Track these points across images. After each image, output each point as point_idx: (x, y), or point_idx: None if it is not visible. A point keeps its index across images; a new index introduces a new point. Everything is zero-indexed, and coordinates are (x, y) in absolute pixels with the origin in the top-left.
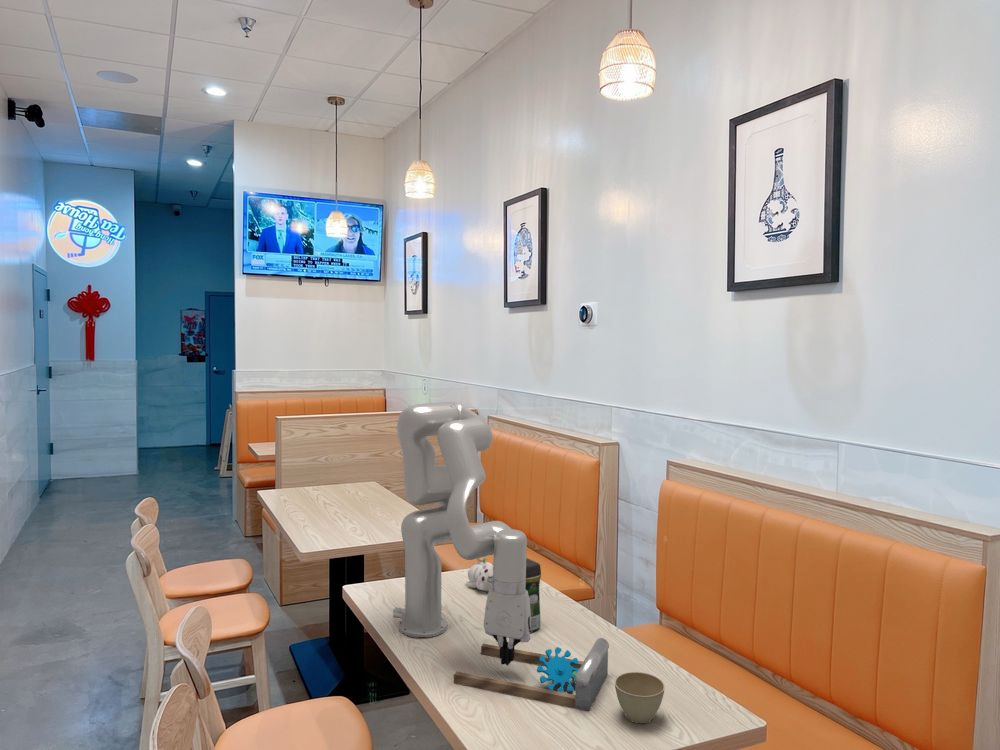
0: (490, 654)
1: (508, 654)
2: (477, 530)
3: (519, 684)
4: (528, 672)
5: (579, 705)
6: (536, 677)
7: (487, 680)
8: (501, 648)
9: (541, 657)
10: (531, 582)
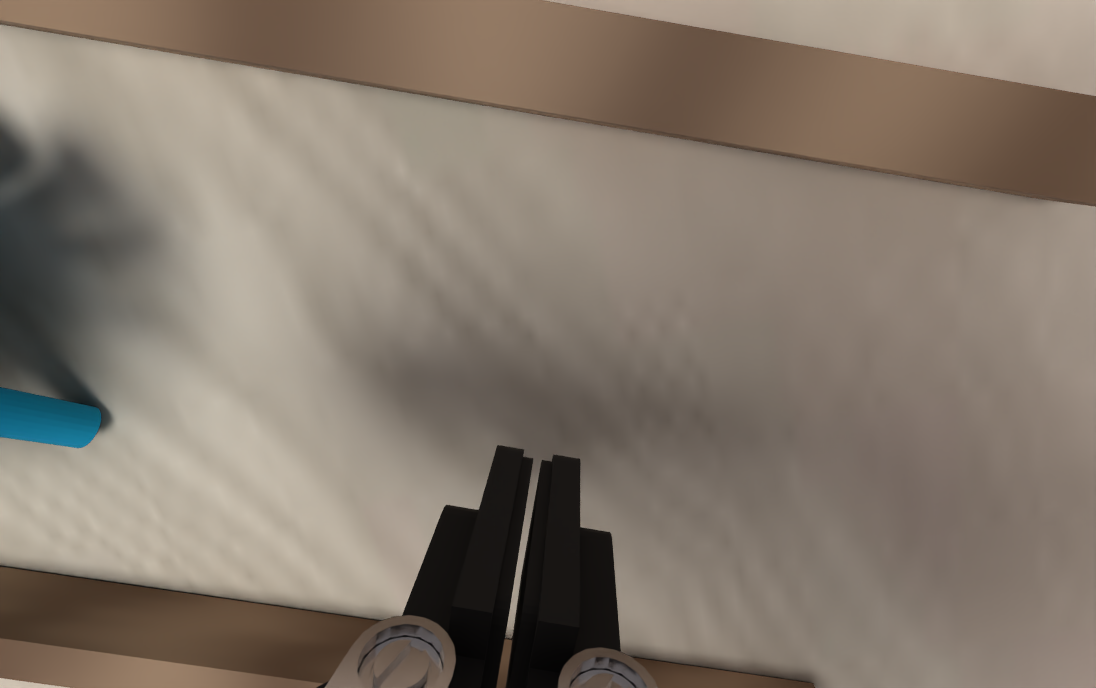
0: (733, 681)
1: (470, 549)
2: None
3: (226, 41)
4: (349, 490)
5: None
6: (251, 423)
7: (689, 48)
8: (592, 640)
9: None
10: None
